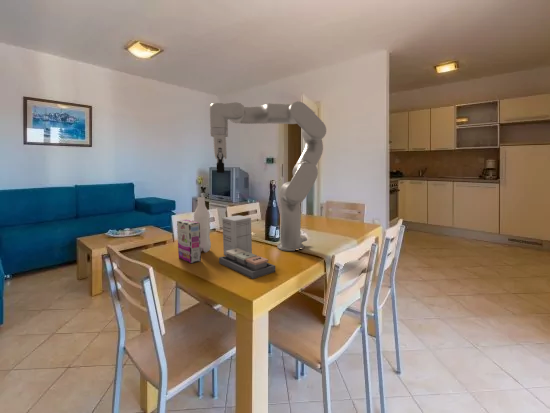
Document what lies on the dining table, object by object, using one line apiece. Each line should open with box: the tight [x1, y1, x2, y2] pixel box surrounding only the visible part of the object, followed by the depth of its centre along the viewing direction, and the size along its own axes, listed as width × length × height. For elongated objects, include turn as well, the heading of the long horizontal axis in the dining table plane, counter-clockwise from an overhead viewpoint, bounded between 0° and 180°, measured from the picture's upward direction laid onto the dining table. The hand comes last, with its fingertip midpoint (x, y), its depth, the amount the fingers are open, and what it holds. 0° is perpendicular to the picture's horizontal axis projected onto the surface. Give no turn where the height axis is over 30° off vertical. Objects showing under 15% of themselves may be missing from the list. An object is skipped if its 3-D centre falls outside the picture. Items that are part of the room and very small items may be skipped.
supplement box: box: [222, 215, 253, 256], centre depth 133 cm, size 10×9×17 cm
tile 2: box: [235, 252, 258, 265], centre depth 118 cm, size 6×6×3 cm
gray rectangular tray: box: [218, 255, 276, 280], centre depth 118 cm, size 11×23×2 cm, turn 41°
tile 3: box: [246, 255, 269, 269], centre depth 112 cm, size 6×6×3 cm
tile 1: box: [225, 248, 246, 260], centre depth 123 cm, size 6×6×3 cm
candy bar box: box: [176, 219, 202, 264], centre depth 127 cm, size 11×5×16 cm, turn 45°
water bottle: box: [193, 196, 212, 253], centre depth 138 cm, size 7×7×25 cm
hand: (220, 172), depth 134 cm, fingers open, 9 cm apart
